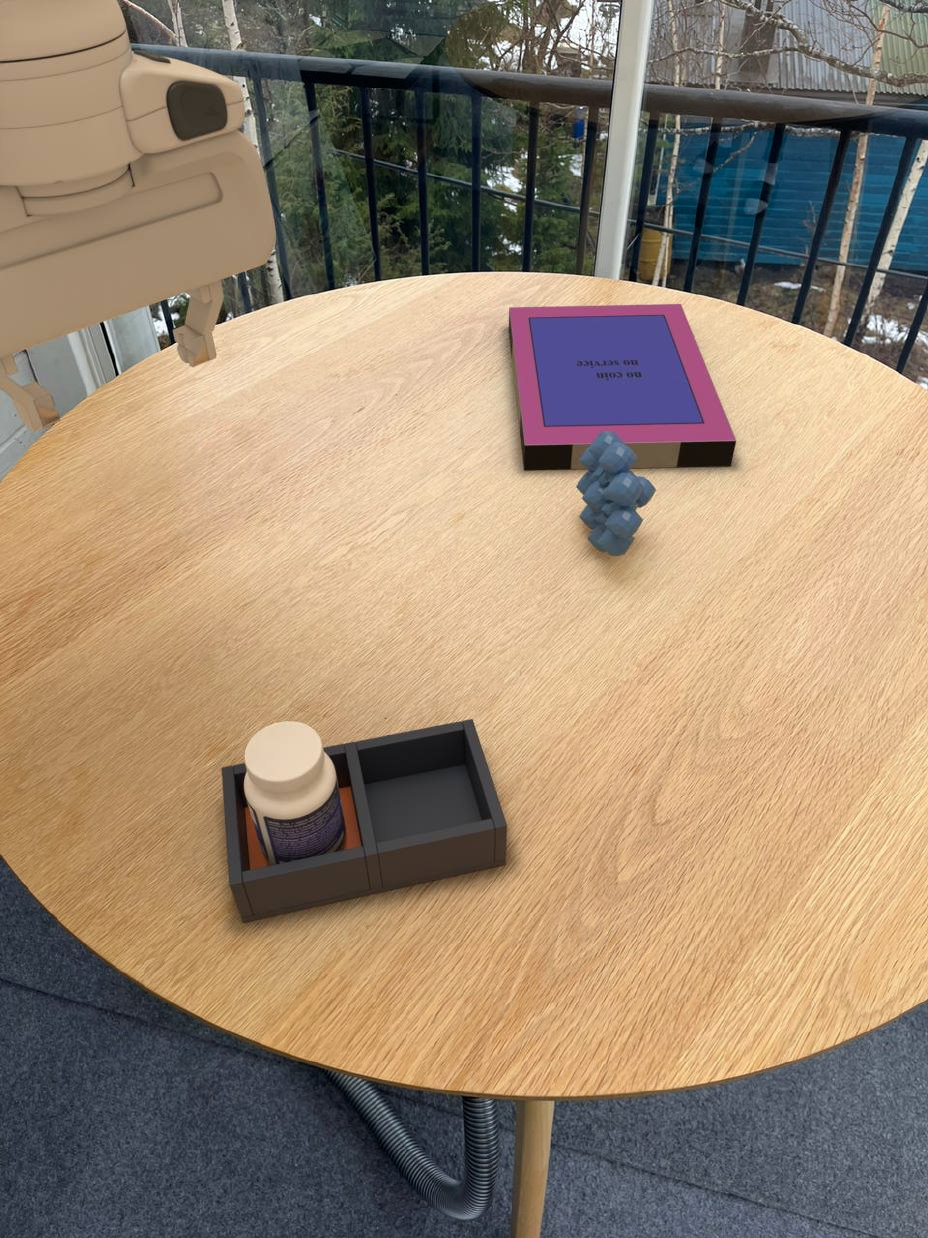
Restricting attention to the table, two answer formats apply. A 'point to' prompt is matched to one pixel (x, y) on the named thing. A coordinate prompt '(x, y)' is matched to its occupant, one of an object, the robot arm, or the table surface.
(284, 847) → the pill bottle
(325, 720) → the table surface
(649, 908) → the table surface
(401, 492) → the table surface
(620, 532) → the grapes
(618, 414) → the book
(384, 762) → the tray
